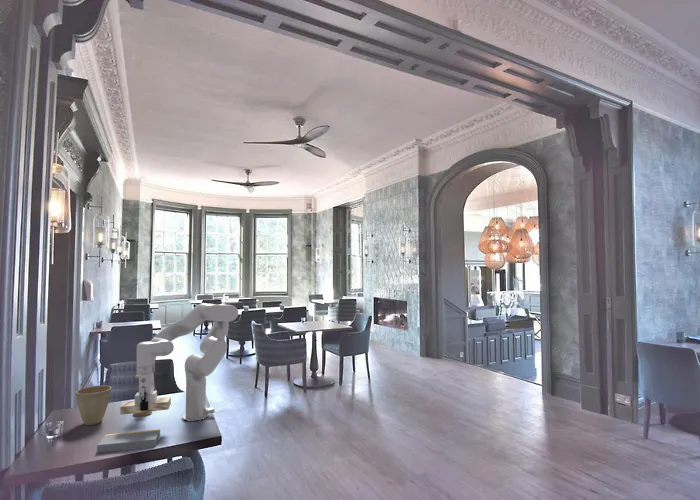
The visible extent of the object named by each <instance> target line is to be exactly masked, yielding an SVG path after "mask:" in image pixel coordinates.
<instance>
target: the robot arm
mask: <svg viewBox="0 0 700 500" xmlns="http://www.w3.org/2000/svg"><path fill="white" fill-rule="evenodd" d="M238 316H239V310H238V308H237V307H236V306H234V305H233V304H224V303H221V304H215V303H205V302H201V303H199V304H197V305H196V306H195V307H194V308H193V309H191V310H190V311H189V312H188V313H186V314H185V315H184V316H183V317H181V318H180V320H178V321H176V322H174V323H172V324H171V325H168V326H167V327H165V328H163V329H162V330H161V331H159V332H158V333H157V334H156V335H155V336H154V337H153V338H152V339H151V340H149V341H141V342H138V344H137V345H136V375H137V374H139V378H138V392H139V395H140V396H141V399H140V411H145V410H148V401H147V399H148V394H149V395H151V393H152V392H153V391H154V387H155V374H154V372H155V371H156V365H155V364H156V362H155V360H156V357H165V356H169V355H171V354H172V352H173V351H174V349H175V348H174V346H175V345H174V343H173V342H172V341H173V340H175V339H178V338H180V337H184V336H187V335H189V334H191V333H193V332H194V331H195V330H197V328H199V327H200V326H201V325H202V324H203V323H204V322H206V321H209V322H213V324H212V327H211V329H210V330H209V331H208V333H207V334H206V335H205V337H204V338H203V340H202V341H201V343H200V345H199V351H200V352H201V353H202V354H199V353H194V354H191V355H189V356H188V357H187V358H186V359H185V362H184V372H185V413H184V414H183V415H181V416H182V417H181V419H182V420H183V421H184V420H187V421H186V422H194V421H193V420H199V421H202V420H201V419H203V418H205V419H207V418H208V417H209V414H214V413H216V412H215V408H213V407H209V408H208V407H207V405H206V402H207V401H206V400H207V399H206V398H207V395H206V394H207V378H206V377H208V376H210V375H211V374H212V373H214V371H215V370H216V368H217V367H218V366H219V364H220V363H221V361H222V359H223V358H224V357H225V355H226V354H227V349H228V343H227V341H226V340H225V338H226V336H227V335H228V332H229V328H230V326H229V322H234V321H235V320H236V319H237V318H238ZM203 354H204V355H203ZM145 393H147V394H145ZM144 396H146V397H144ZM206 417H207V418H206ZM203 420H204V419H203Z"/></svg>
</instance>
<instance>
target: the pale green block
mask: <svg viewBox="0 0 700 500" xmlns="http://www.w3.org/2000/svg"><path fill="white" fill-rule="evenodd" d="M145 394H146V393H145ZM144 397H146V396H144ZM140 399H141V396H140V395H139V391H138V392H136V394H134V401H135V405H137V404H140Z"/></svg>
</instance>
